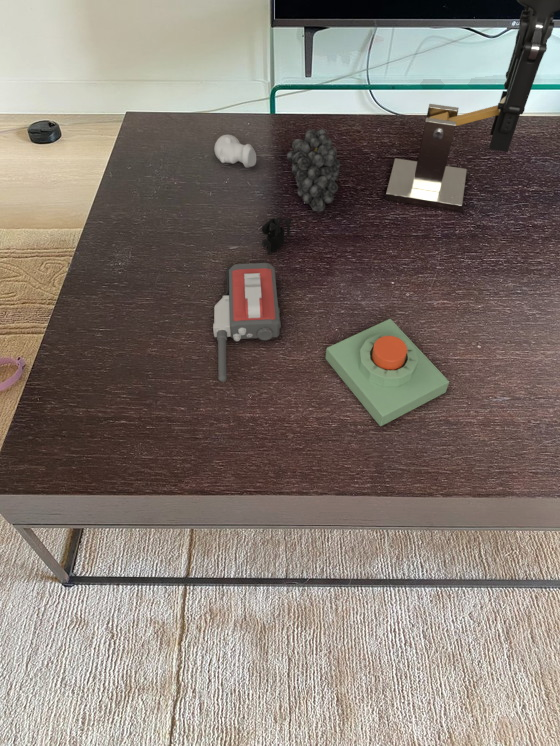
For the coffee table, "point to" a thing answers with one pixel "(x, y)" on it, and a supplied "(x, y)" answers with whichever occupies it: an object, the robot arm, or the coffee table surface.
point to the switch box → (385, 374)
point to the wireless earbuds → (275, 234)
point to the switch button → (389, 352)
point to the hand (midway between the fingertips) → (499, 141)
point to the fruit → (315, 168)
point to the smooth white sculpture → (234, 151)
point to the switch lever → (471, 115)
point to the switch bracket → (430, 168)
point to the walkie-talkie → (246, 308)
